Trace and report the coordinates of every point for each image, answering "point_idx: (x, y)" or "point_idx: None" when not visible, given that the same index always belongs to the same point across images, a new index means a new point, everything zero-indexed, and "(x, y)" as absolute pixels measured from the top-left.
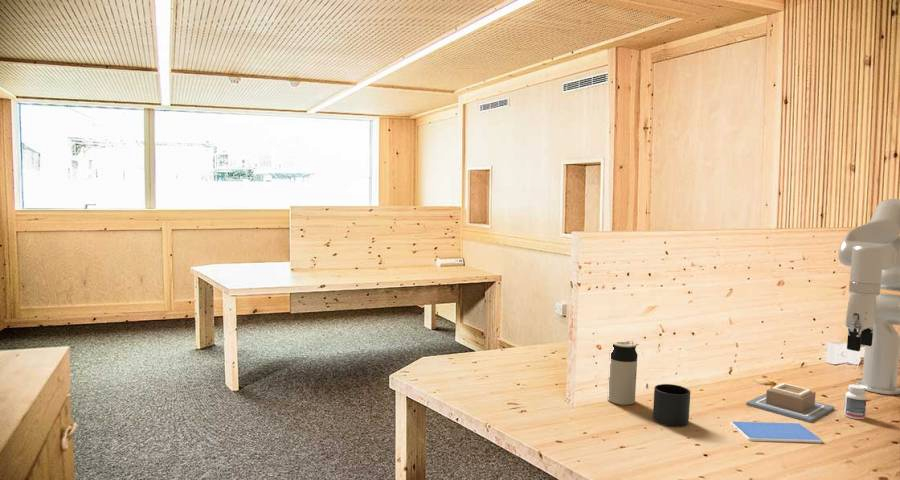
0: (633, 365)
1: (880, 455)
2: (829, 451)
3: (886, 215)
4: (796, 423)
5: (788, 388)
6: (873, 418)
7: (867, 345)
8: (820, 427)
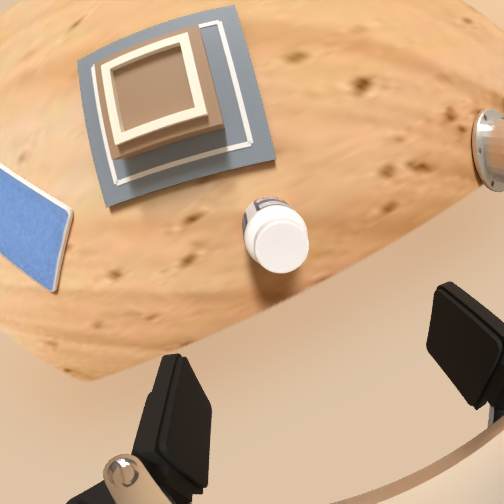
0: None
1: (110, 359)
2: (46, 314)
3: None
4: (63, 210)
5: (173, 63)
6: None
7: (430, 331)
8: (107, 236)
